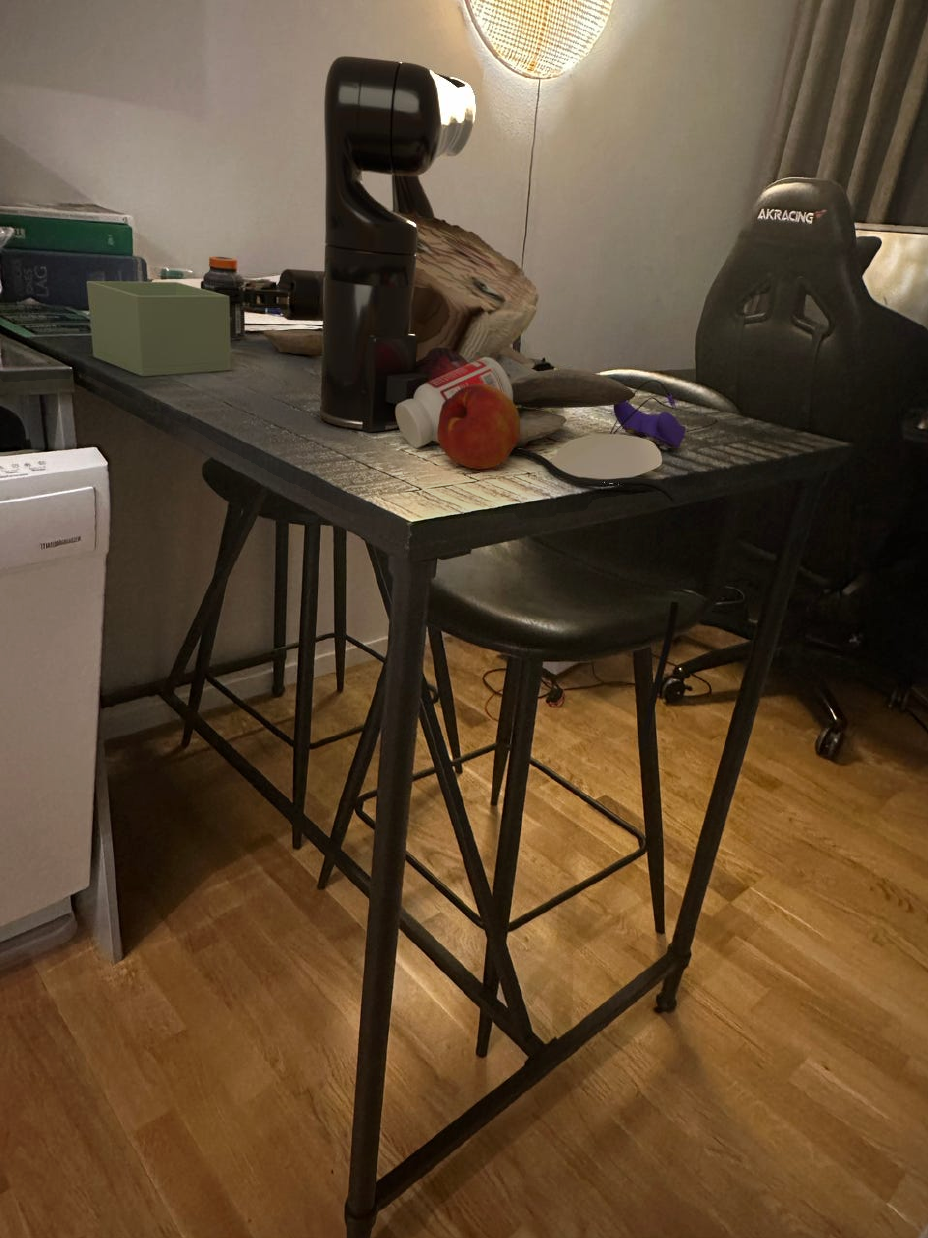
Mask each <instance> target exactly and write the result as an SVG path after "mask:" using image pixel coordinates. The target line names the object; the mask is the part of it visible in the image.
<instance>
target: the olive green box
mask: <svg viewBox="0 0 928 1238" xmlns="http://www.w3.org/2000/svg"><path fill="white" fill-rule="evenodd" d="M86 291H87V292H86V293H87V302H88V313H89V324H90V335H91V344H92V355H93V358H96V359H98V360H100V361H103V362H106V363H107V364H110V365H113V366H116V367H118V368H120V369H122V370H125V371H128V372H130V373H132V374H135V375H138V376H140V377H157V376H168V375H183V374H184V375H185V374H198V373H210V372H211V373H213V372H227V371H231V370H232V354H231V353H232V351H231V340H230V301H229V296H226V295H223V294H219V293H215V292H212V291H208V290H204V289H201V287H196V286H193V285H189V284H185V283H182V282H177V281H98V280H97V281H93V280H91V281H90V280H88V281H86Z"/></svg>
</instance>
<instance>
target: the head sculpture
mask: <svg viewBox="0 0 928 1238" xmlns="http://www.w3.org/2000/svg"><path fill="white" fill-rule="evenodd" d="M398 214H399V215H401V216H403V217H405V218H407V219H409V220H410V221H412V222H413V223H414V224H415V225H416V226H417V229H418V248H417V253H416V255H417V261H416V274H415V286H414V301H413V315H412V328H411V334H414V335H416V336H417V338H418V343H417V356H416V359H417V360H418V361H419V360H421V359H423V358H424V357H426V355H427V354H428V353H429V351H430V350H432V349H435V348H440V347H442V348H448V349H450V350H453V351H455V352H457V353H458V354H459V355H460V356H462V357H464V359H465V360H466V361H467V362H468V364H469V363H472V362H474V361H476V360H479V359H481V358H484V357H488V358H490V357H491V356H493V355H494V354H496V353H499V352H500V351H501V350H503V349H504V348H507V347H509V346H510V347H511V345H513V343H515V342H516V341H517V339H519V337H520V336H521V335H522V334H523V333H524V332H526V330H527V329H528V328H529V326H530V324H531V322H532V321H533V319H534V317H535V315H536V313H537V310H538V308H537V304H538V301H539V297H540V295H539V294H538V292H537V290H536V289H537V287H536V285H534V283H533V282H532V281H531V280H530V279H529V278H528V277H527V276H526V275H525V272H524V269H523V268H521V267H519V265H518V264H517V263H516V262H515V261H514V260H513V259H509V258H507V257H506V256H504V255H503V254H502V252H499V251H498V250H495V249H494V248H493V247H492V246H491V245H490V244H488V243H487V242H486V241H485V240H484V239H482V237H480V235H478V234H476V233H474V232H473V231H468V230H466V229H464V228H463V227H461V226H459V224H450V223H448V222H447V221H446V220H445V219H439V218H437V217H436V216H435V217H433V218H432V219H428V218H427V217H426V216H425V215H423V216H419V215H418V214H417V211H416V210H413V211H412V213H410V214H407V215H406V214H402V213H398Z"/></svg>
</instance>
